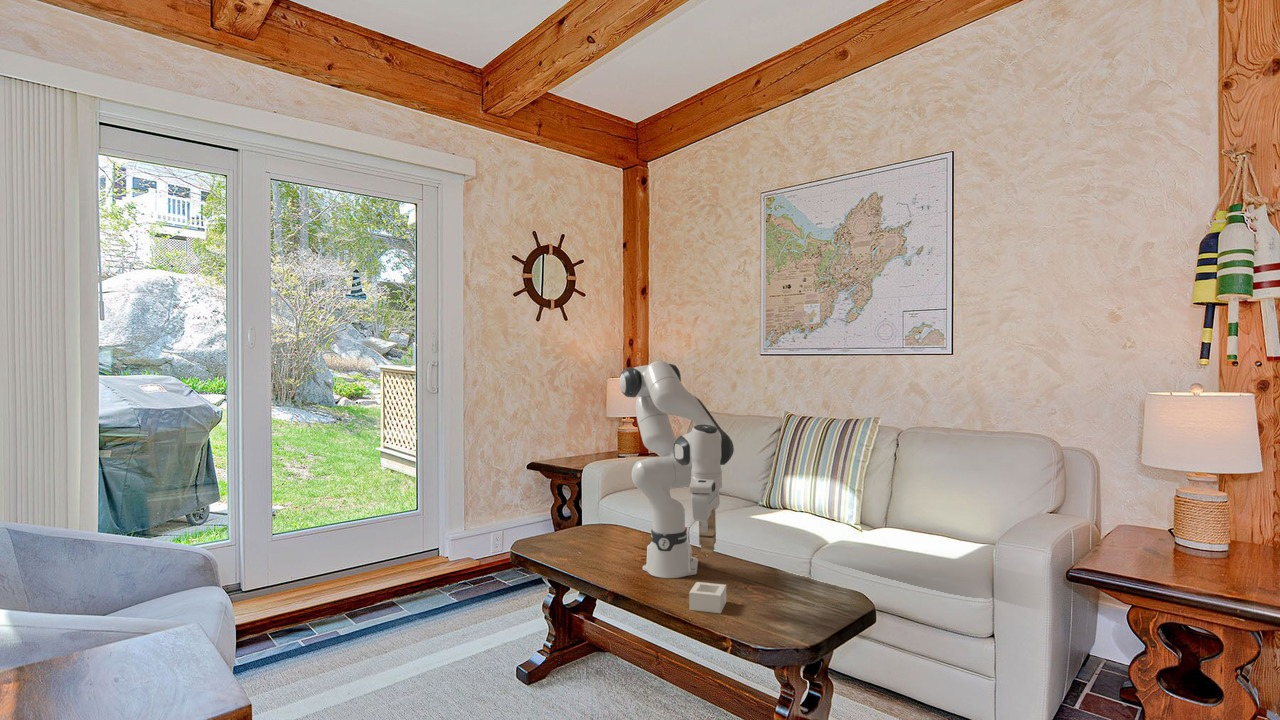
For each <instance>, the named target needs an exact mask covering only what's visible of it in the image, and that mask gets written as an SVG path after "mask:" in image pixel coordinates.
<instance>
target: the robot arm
mask: <svg viewBox="0 0 1280 720" xmlns="http://www.w3.org/2000/svg"><path fill="white" fill-rule="evenodd" d="M681 381H682V378H681V372H680V369H679V368H678V367H677V365H675V364H673V363H668V362H666V361H664V360H656V361H653V362H652V363H650V364H647V365H640V366H639V365H638V366H636V367H633V366H632V367H627V368H625V369H623V370H622V371H621V373H620V375H619V388H620V390H621V393H622V394H623V395H624V396H625V397H627V398H636V397H637V399H636V400H635V416H636V421H637V425H638V429H639V432H640V433H639V434H640V437H641V440H642V443H643V446H644V447H645V448H646V449H647V450H648V451H650V452H653V453H655V455H658V456H655V457H647V458H643V459H641V460H638V461H635V463H634V464H633V466H632V469H631V472H630V473H631V474H630V475H631V480H632V483H633V484H634V486H635V487H636V488H637V489H638V490H639V491H641V492H642V493H643V494H644V495H645V496H646V498H647V500H648V502H649V505H650V510H651V520H652V521H651V524H652V525H651V526H652V529H651V530H650V531H651V532H650V543H649V544H648V545H647V548H646V564H643V565H642V570H643V571H645V572H647V573H648V574H649V575H651V576H653V577H656V578H661V579H676V578H677V579H678V578H684V577H687V576H693V575H697V573H698V565H699V559H698V558H697V557H693V556H692V554H693V552H692V545H691V544H690V542H689V541H688V527H687V526H686V514H685V513H686V512H685V511H686V510H685V507H684V505H683V504H682V502H680V501H679V500H677V499H675V498H673V497H672V496H671V490H672V489H681V488H688V490H689V493H690V494H691V496H690V498H691V500H690V501H691V502H690V503H691V512H692V513H691V514H692V518H693V521H695V522H699V521H700V522H701V526H702V532H708V531H709V525H708V518H709V517H710V516H711V514H712V510H713V509H714V508H715V511H716V510H717V509H718V508H719V507H720V502H721V501H720V489H722V487H723V474H722V472H723V471H722V466H724V465H726V464H727V463H728V462H730V460H731V458H732V457H733V454H734V452H735V451H734V450H735V449H734V443H733V440H732V439H731V437H730V436H729V435H728V434H727V433H726V432H725V431H724V430H723V429H722V428H721V427H720V425H719V423H717V421H716V420H715V418H714V417H713V415H712V414H711V412H710V411H709V409H708V408H707V407H706V406H705V405H704V403H703V401H701V400H700V399H699V397H696V396H694V394H692V393H691V392H689V390H688V389H687V388H686V387H684V385H683V383H682V382H681ZM669 416H676V417H681V418H685V419H688V420H690V421H692V422H693V423H694V424H695V426H693V427H692V429H691V431H689V432H687V433H686V434H682V435H679V436H678V437H676V435H675V433H674V430H673V428H672V424H671V422H670V418H669Z"/></svg>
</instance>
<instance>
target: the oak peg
mask: <svg viewBox="0 0 1280 720" xmlns="http://www.w3.org/2000/svg"><path fill="white" fill-rule="evenodd" d="M716 519H717V518H716V510H715V508H714V509H713V510H712V514H711V516H710V517H709V518H708V525H709V531H708V532H702V526H701V522H700V521H698V541H699V544H698V545H700V551H701V552H702V553H713V552H714V551H715V544H716V543H717V538H716V537H717V536H716V535H717V528H716V521H717V520H716Z"/></svg>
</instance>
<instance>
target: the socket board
mask: <svg viewBox="0 0 1280 720" xmlns="http://www.w3.org/2000/svg"><path fill="white" fill-rule="evenodd" d="M688 603H689V604H688V605H689V607H688V609H689V611H696V612H706V613H714V614H721V613H722V612H723V610H724V608H725V606H726V604H727V584H723V583H712V582H704V581H703V582H701V581H696V582H695V583H694V585H693V586H692V587H691V589H690V590H689V593H688Z"/></svg>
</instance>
